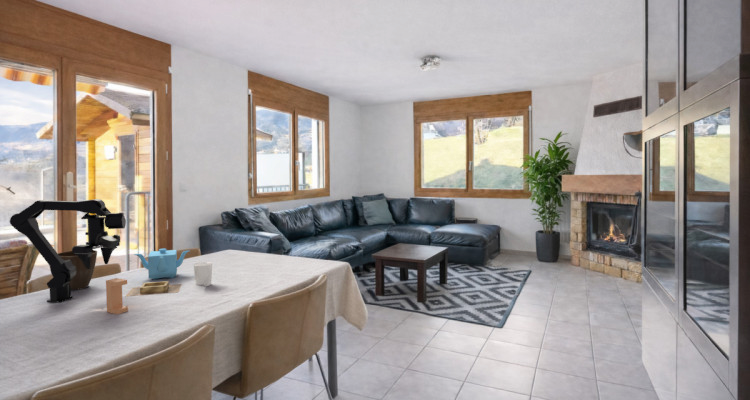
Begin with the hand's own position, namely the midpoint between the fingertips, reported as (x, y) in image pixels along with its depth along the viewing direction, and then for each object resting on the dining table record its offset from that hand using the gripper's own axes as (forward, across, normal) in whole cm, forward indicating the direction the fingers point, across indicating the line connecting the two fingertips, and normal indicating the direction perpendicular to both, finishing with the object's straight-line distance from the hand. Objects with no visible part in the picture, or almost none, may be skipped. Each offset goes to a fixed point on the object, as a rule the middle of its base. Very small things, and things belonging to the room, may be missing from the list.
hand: (97, 266), depth 169 cm
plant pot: (+13, +11, +20) cm, 26 cm away
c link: (+13, -15, -21) cm, 29 cm away
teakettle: (+13, +32, -7) cm, 35 cm away
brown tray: (+13, +10, -18) cm, 25 cm away
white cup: (+13, +24, -33) cm, 43 cm away
